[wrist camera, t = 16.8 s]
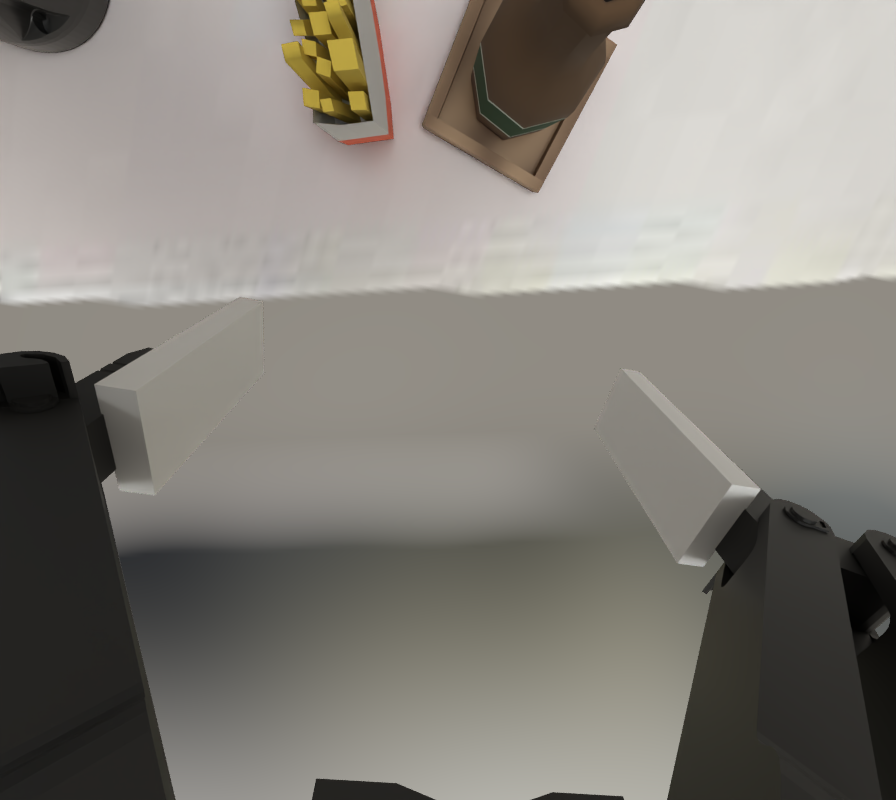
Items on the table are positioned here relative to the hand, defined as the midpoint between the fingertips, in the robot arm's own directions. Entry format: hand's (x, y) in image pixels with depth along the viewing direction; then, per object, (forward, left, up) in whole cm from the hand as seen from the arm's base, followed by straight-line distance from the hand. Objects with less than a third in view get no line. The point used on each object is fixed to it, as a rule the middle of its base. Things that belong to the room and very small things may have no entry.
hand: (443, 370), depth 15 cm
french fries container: (-13, +10, -32) cm, 36 cm away
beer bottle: (0, +15, -31) cm, 34 cm away
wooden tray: (0, +15, -32) cm, 35 cm away
